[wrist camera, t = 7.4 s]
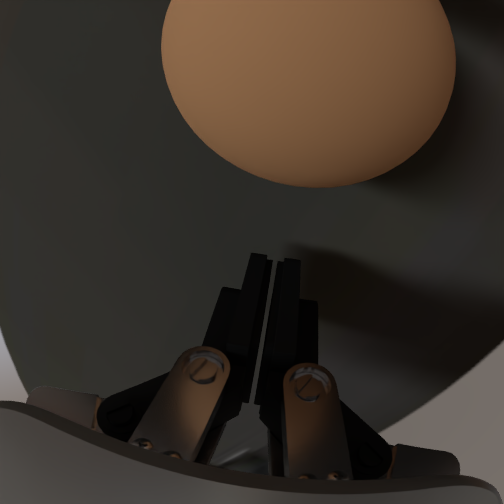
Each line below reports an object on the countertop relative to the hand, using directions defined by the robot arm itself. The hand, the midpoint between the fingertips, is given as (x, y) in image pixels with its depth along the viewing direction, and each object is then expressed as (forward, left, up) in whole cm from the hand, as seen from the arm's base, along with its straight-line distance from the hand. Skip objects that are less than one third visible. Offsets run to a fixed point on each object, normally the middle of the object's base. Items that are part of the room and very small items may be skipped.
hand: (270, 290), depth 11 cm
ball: (+7, +2, +2) cm, 8 cm away
